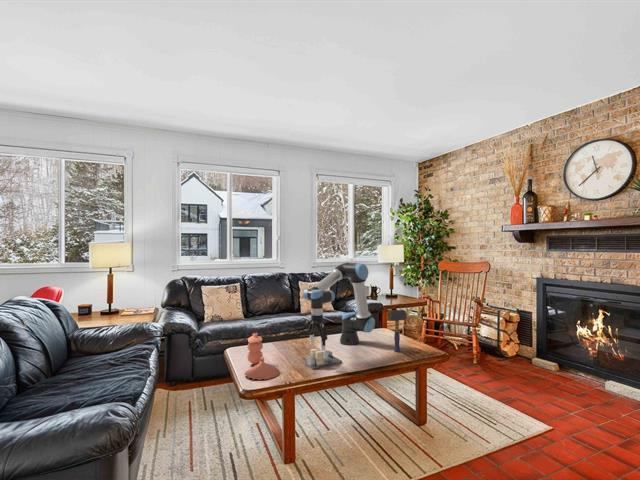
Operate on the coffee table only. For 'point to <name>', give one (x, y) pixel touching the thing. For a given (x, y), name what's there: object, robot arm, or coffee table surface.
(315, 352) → the block
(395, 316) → the rubber mallet
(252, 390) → the coffee table surface
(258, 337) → the ceramic vessels
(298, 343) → the coffee table surface
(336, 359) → the vise
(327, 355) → the jaw slide
